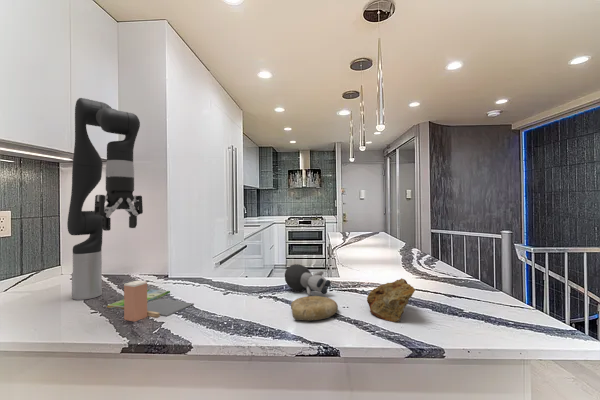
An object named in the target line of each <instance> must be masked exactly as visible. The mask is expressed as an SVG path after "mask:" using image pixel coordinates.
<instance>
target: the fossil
mask: <svg viewBox="0 0 600 400" xmlns="http://www.w3.org/2000/svg"><path fill="white" fill-rule="evenodd" d="M290 309H291V312H292V317H293V319H294V320H297V321H320V320H324V319H327V318H330V317H333V316H334V315H335V314H336V313H337V312H338V309H339V306H338V303H337V302H336V301H335V300H334V299H332V298H329V297H326V296H319V295H311V296H309V295H308V296H302V297H299V298H296V299H294V300H293V301H292V302H291V304H290Z"/></svg>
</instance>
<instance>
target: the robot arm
mask: <svg viewBox="0 0 600 400" xmlns="http://www.w3.org/2000/svg"><path fill="white" fill-rule="evenodd" d="M87 125H88V126H93V127H99V128H101V130H102V131H103V132H106V133H109V134H116V135H123V136H125V137H124V139H123V140H114V141H113V140H112V141H108V143H107V144H106V165H105V191H106V195H105V194H96V195H95V198H94V208H93V209H94V210H83V206H84V203H85V201H86V199H87V197H88V196H89V195H90V194H91V193H92V192H93V190H95V188H96V187H97V185H99V184H100V182H101V180H102V176H103V159H102V157H101V155H100V154H99V152H98V151H97V150H96V148H95V146H94V144H93V143H92V140H91V139H90V137H89V134H88V129H87ZM140 127H141V122H140V119H139V117H138V116H137V115H136V114H135V113H134V112H128V111H121V110H118V109H115V108H112V106H110V105H109V104H107V103H105V102H103V101H98V100H93V99H90V98H89V99H88V98H85V97H79V98H78V99H77V100H76V101H75V106H74V149H73V158H72V170H71V172H72V173H71V194H70V195H71V196H70V202H69V208H68V214H67V227H66V228H67V232H68V234H69V235H71V236H86V235H87V236H88V235H89V236H88V237H87V239H85V240H84V241H82V242H79V243H77V244H75V245H73V247H72V273H71V298H72V299H73V300H75V301H77V300H78V301H80V300H81V301H83V300H90V299H95V298H98V297H100V296H102V289H103V287H102V286H103V282H102V279H103V276H102V272H103V271H102V267H103V266H102V262H103V261H102V260H103V259H102V258H103V257H102V253H103V251H102V248H103V247H102V246H103V233H104V232H103V231H106V232H107V231H111V216H112V215H113V213H114V212H115V211H116V210H124V211H125V212H126V213H128V215H129V216H128V228H129V229H136V228H137V226H138V225H137V224H138V216H139V215H142V214H143V211H144V209H143V196H142V195H134V194H133V193H134V191H135V167H134V166H135V165H134V148H135V144H136V143H135V142H136V139H137V136H138V133H139V131H140ZM106 202H107V203H106ZM105 204H106V205H105Z"/></svg>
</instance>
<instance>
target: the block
mask: <svg viewBox="0 0 600 400" xmlns="http://www.w3.org/2000/svg"><path fill="white" fill-rule="evenodd" d="M147 290H148V281H144V280H134V281H130V282H126V283H124V284H123V299H124V309H123V312H124V313H123V314H124V315H123V317H124V321H130V322H138V321H139V320H142V319H145V318H148V316H147Z"/></svg>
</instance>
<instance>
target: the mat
mask: <svg viewBox="0 0 600 400" xmlns="http://www.w3.org/2000/svg"><path fill="white" fill-rule="evenodd" d="M194 305H195V303H193V302H186V301H179V300H173V299H166V298H157V299H155V300H152V301H150V302H148V303H147V311H152V312H158V313H160V317H165V318H166V317H169V316H171V315H174V314H175V313H177V312H180V311H182V310H185V309H187V308H190V307H192V306H194Z"/></svg>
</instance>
